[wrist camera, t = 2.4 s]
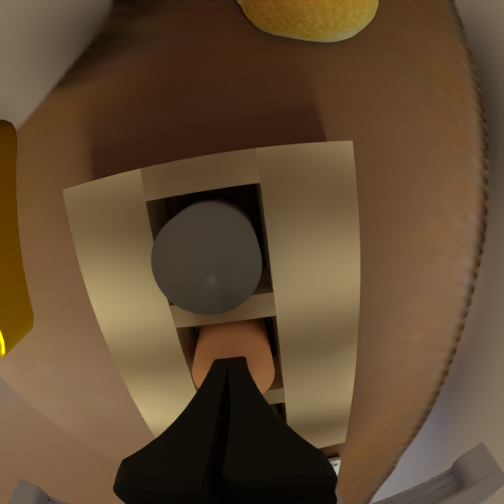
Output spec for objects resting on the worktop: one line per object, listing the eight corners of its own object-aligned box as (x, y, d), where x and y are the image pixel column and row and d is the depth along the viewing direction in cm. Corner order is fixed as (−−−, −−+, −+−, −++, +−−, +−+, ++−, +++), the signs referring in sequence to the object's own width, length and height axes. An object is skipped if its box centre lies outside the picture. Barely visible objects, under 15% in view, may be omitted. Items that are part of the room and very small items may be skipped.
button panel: (334, 412, 18) (345, 441, 15) (175, 431, 18) (170, 461, 15) (328, 145, 13) (352, 140, 10) (93, 184, 13) (62, 189, 10)
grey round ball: (259, 271, 13) (268, 307, 10) (182, 282, 13) (165, 320, 9) (249, 191, 12) (254, 200, 9) (166, 204, 12) (140, 219, 8)
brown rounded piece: (270, 355, 15) (277, 397, 12) (207, 362, 15) (202, 405, 12) (262, 299, 14) (270, 337, 11) (193, 308, 14) (182, 347, 11)
